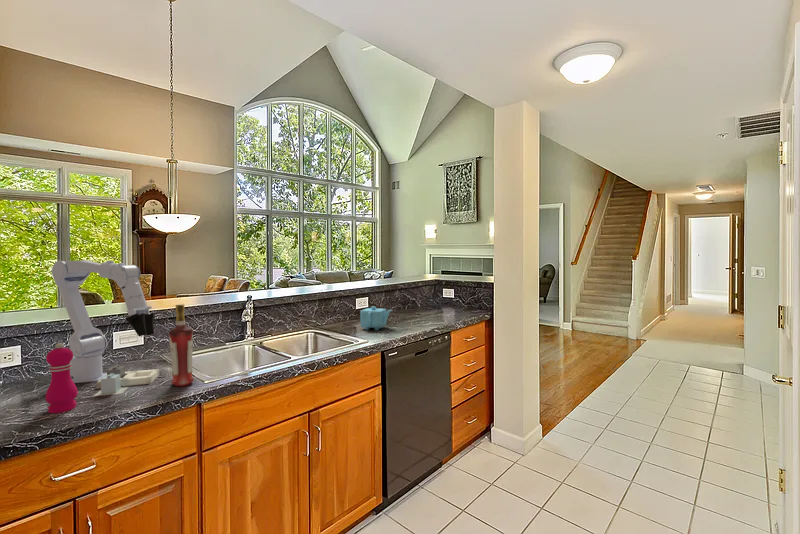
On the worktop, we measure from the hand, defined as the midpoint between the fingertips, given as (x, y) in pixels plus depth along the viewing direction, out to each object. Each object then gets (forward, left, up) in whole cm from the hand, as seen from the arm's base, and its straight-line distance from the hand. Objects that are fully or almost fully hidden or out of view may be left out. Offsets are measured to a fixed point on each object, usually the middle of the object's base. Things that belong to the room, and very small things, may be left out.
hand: (146, 335), depth 135 cm
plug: (-10, -4, -17) cm, 20 cm away
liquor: (+11, -3, -18) cm, 21 cm away
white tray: (-8, +6, -17) cm, 20 cm away
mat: (-10, -4, -17) cm, 20 cm away
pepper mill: (-18, -16, -18) cm, 30 cm away
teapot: (+98, +67, -18) cm, 120 cm away
